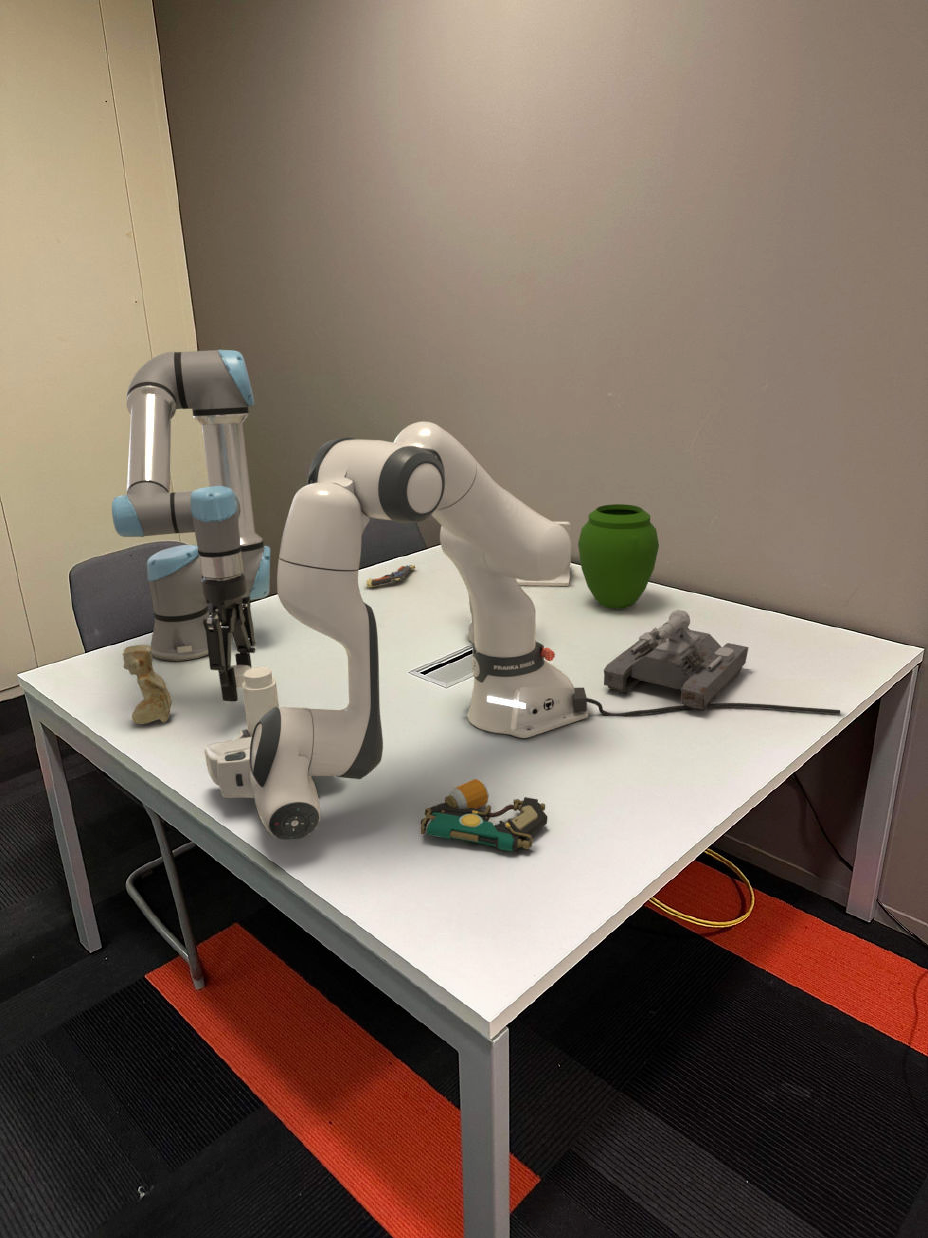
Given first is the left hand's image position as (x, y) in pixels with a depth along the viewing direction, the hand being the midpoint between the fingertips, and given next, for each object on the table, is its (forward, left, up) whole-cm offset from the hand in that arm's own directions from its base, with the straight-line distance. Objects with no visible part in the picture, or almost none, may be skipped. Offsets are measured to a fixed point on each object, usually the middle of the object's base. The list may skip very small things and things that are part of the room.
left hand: (238, 692), depth 160 cm
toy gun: (-41, +75, -5) cm, 86 cm away
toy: (+54, +66, -5) cm, 86 cm away
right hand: (+18, -6, +1) cm, 19 cm away
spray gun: (+59, +3, -5) cm, 60 cm away
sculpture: (-12, -12, -5) cm, 17 cm away
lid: (0, 0, +4) cm, 4 cm away
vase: (+20, +96, -5) cm, 99 cm away
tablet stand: (-14, +101, -5) cm, 102 cm away
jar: (+19, -7, -5) cm, 20 cm away
